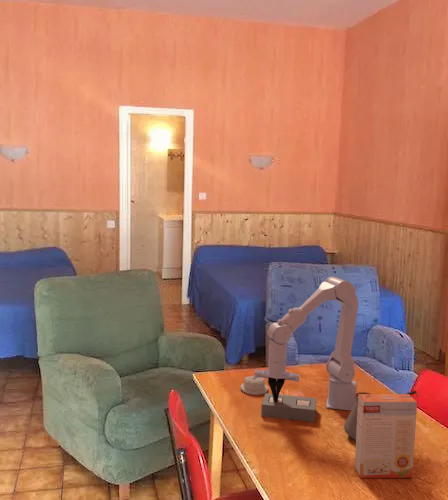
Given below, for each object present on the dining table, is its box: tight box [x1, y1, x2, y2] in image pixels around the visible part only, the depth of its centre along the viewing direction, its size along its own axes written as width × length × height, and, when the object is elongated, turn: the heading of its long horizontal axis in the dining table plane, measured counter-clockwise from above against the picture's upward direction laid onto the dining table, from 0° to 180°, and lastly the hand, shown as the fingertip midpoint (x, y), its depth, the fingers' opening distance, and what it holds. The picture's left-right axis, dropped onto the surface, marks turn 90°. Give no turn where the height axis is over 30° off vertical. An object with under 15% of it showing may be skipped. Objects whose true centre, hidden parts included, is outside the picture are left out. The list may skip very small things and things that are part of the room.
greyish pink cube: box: [269, 397, 282, 403], centre depth 187 cm, size 4×4×4 cm
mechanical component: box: [239, 375, 269, 396], centre depth 206 cm, size 10×4×10 cm
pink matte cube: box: [297, 400, 310, 406], centre depth 185 cm, size 4×4×4 cm
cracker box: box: [354, 393, 418, 479], centre depth 149 cm, size 14×6×21 cm, turn 92°
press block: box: [260, 392, 317, 423], centre depth 186 cm, size 17×10×4 cm, turn 79°
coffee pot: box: [343, 390, 419, 442], centre depth 170 cm, size 21×12×15 cm, turn 89°
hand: (275, 400), depth 187 cm, fingers closed, pressing on greyish pink cube
